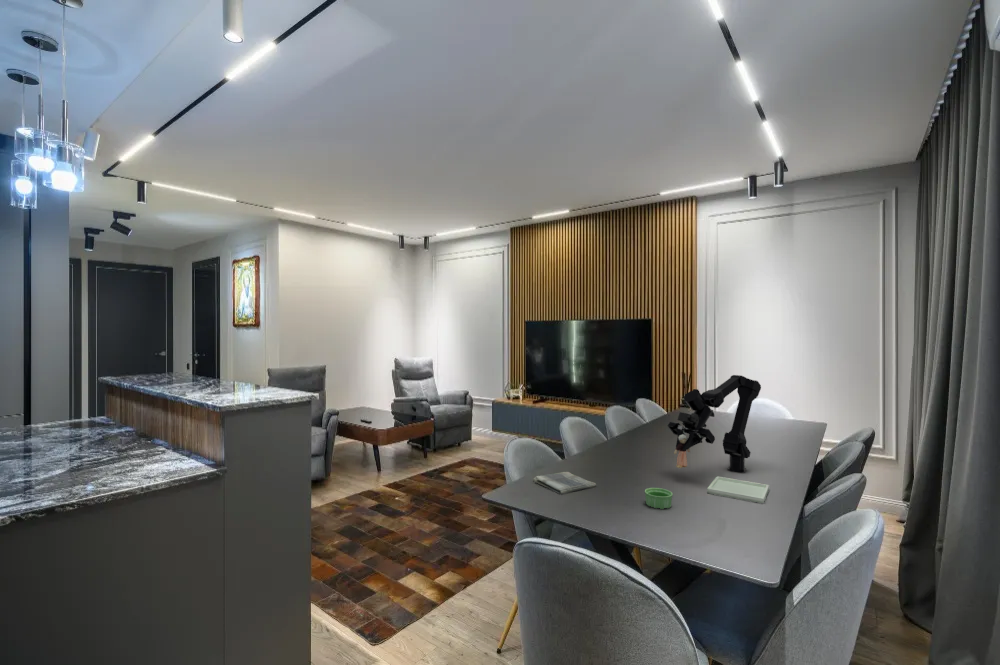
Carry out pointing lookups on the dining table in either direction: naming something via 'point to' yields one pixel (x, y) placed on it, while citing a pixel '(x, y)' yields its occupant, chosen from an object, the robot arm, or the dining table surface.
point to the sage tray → (739, 489)
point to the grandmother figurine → (681, 452)
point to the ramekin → (658, 498)
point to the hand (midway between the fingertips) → (680, 448)
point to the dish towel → (563, 482)
